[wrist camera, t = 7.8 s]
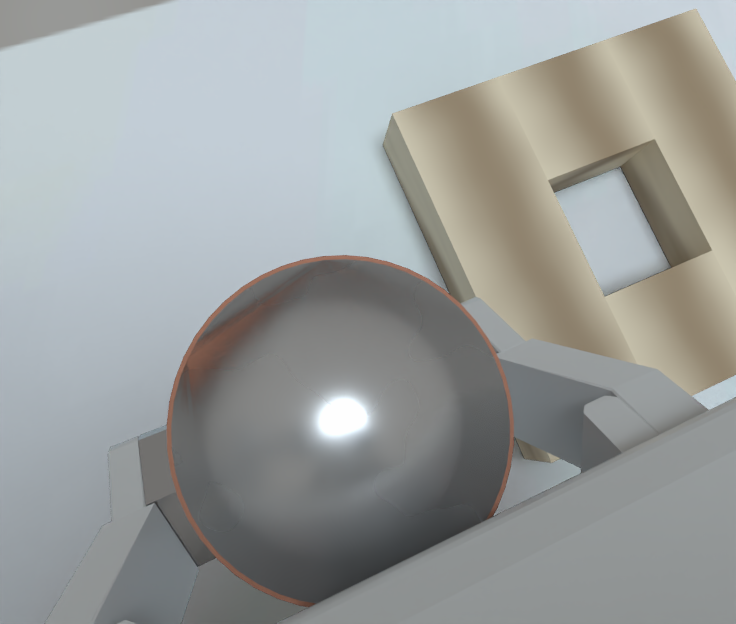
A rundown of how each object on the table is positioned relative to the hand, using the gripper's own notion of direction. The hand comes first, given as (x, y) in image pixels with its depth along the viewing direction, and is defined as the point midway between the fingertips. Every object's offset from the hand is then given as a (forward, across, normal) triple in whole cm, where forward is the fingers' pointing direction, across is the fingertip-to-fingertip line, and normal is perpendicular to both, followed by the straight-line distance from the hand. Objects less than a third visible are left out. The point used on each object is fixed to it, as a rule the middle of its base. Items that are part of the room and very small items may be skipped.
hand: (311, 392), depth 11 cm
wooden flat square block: (+12, -16, +9) cm, 23 cm away
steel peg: (+3, 0, +4) cm, 5 cm away
